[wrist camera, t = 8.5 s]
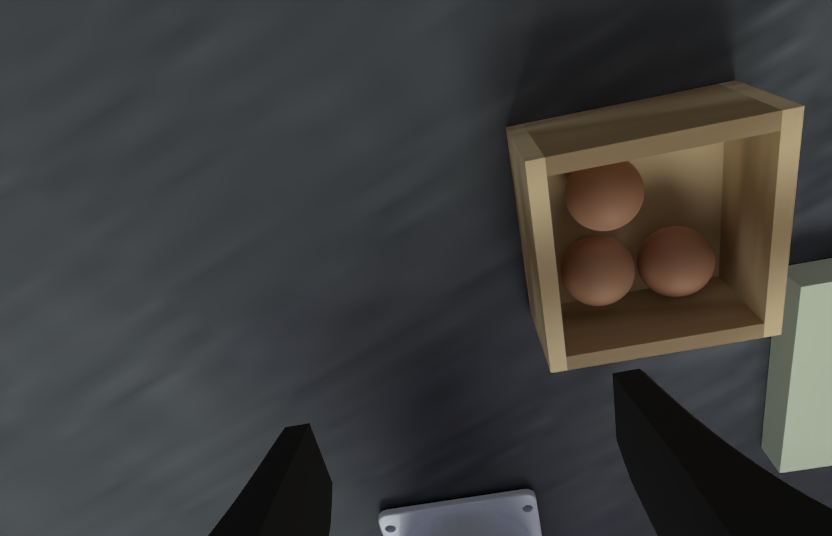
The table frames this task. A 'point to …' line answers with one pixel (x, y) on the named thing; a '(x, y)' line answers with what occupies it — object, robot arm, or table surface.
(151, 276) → the table surface
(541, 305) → the box
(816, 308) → the lid
